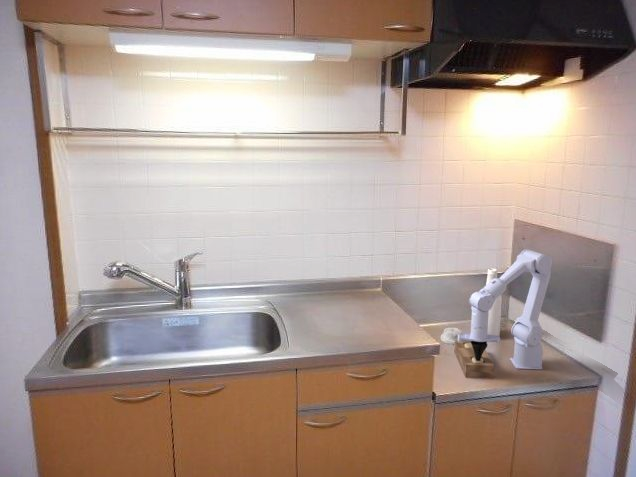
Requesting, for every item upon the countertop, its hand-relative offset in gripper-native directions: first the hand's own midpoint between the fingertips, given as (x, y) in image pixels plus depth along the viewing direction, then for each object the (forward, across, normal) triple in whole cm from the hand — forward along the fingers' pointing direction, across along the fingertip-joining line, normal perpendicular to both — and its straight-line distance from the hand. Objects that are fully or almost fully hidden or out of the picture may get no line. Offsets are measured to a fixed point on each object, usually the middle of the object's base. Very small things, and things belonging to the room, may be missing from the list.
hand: (477, 359), depth 168 cm
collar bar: (+5, 0, -6) cm, 8 cm away
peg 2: (+5, 0, 0) cm, 5 cm away
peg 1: (+5, 0, -12) cm, 13 cm away
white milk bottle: (+5, -13, -33) cm, 36 cm away
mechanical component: (+6, +3, -28) cm, 29 cm away
